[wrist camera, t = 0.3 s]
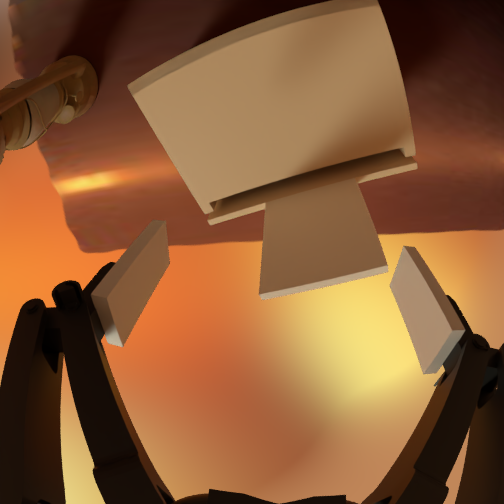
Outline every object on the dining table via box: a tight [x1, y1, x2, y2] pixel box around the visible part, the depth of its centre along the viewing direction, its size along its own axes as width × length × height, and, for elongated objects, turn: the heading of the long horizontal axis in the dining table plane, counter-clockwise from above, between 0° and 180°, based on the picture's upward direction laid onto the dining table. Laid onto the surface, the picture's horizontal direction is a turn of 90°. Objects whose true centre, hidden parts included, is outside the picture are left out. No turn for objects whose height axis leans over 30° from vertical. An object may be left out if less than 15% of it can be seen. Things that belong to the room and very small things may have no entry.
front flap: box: [208, 148, 417, 300], centre depth 26 cm, size 1×20×26 cm, turn 114°
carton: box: [127, 0, 416, 214], centre depth 26 cm, size 14×20×16 cm
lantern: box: [0, 55, 98, 164], centre depth 21 cm, size 15×10×30 cm
